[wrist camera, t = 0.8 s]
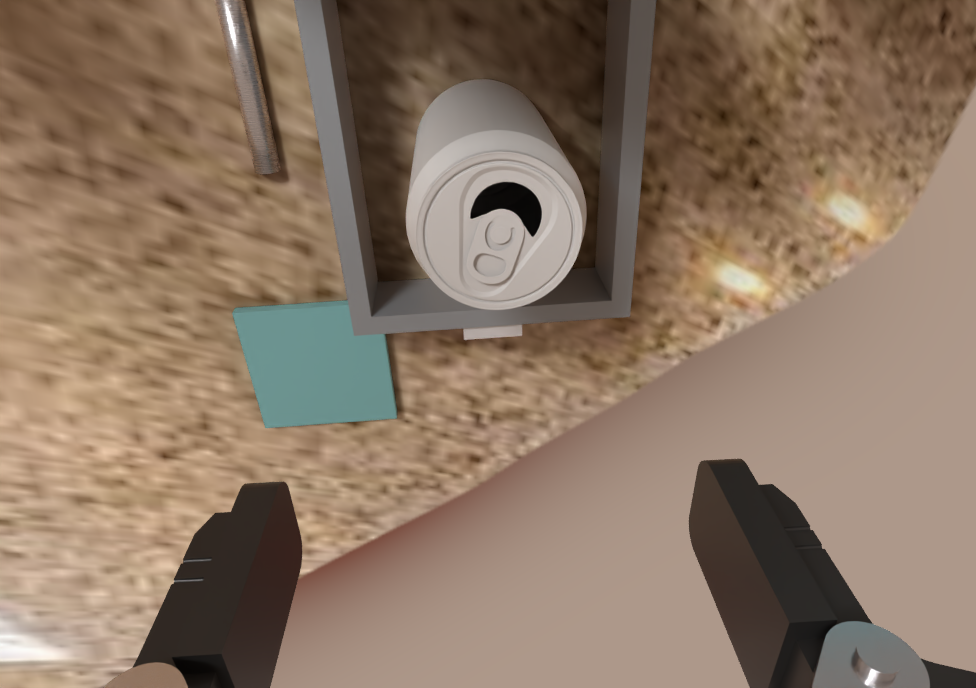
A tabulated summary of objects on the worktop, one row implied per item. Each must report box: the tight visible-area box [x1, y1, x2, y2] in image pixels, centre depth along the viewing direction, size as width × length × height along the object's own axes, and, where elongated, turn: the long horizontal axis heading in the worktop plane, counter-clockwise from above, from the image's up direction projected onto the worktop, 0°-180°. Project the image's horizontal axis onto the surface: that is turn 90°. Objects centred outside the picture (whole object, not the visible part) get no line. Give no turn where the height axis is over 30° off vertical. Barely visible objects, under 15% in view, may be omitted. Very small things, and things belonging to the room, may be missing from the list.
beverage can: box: [406, 79, 587, 310], centre depth 26 cm, size 6×6×12 cm
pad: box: [232, 300, 397, 428], centre depth 37 cm, size 8×8×1 cm
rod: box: [215, 0, 281, 174], centre depth 29 cm, size 9×1×1 cm
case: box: [294, 0, 656, 340], centre depth 29 cm, size 19×14×4 cm
